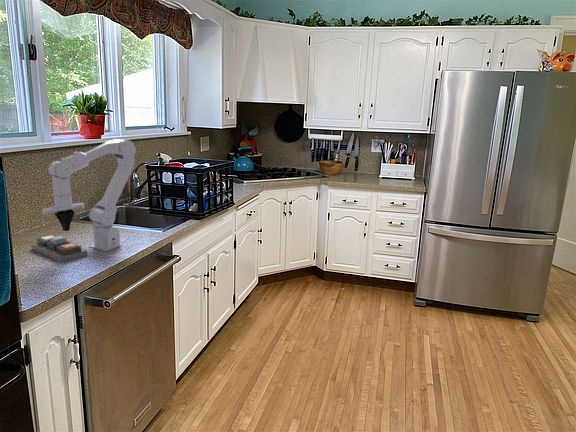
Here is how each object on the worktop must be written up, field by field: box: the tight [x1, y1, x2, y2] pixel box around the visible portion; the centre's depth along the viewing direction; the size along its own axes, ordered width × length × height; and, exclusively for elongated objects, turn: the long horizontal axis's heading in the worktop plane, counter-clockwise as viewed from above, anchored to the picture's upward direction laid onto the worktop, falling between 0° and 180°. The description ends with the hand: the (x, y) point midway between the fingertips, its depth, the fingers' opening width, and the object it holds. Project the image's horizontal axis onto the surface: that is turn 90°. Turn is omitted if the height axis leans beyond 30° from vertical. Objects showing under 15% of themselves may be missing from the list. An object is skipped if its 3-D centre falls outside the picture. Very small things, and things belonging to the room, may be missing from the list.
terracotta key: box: [60, 242, 78, 249], centre depth 155 cm, size 4×4×2 cm
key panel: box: [30, 234, 88, 263], centre depth 159 cm, size 22×10×4 cm, turn 54°
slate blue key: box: [50, 235, 67, 245], centre depth 158 cm, size 4×4×2 cm
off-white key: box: [40, 234, 55, 241], centre depth 163 cm, size 4×4×2 cm
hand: (66, 230), depth 156 cm, fingers closed
